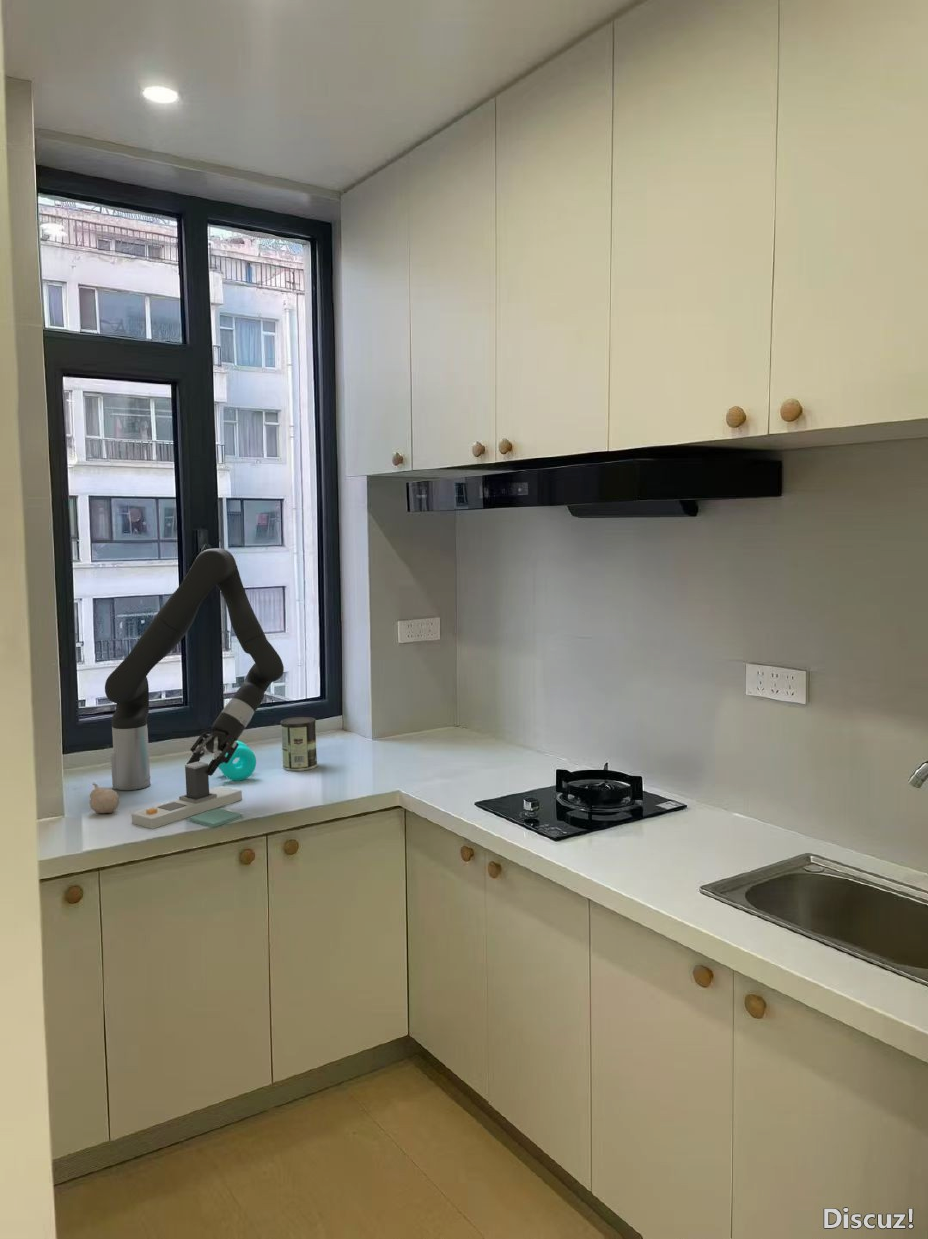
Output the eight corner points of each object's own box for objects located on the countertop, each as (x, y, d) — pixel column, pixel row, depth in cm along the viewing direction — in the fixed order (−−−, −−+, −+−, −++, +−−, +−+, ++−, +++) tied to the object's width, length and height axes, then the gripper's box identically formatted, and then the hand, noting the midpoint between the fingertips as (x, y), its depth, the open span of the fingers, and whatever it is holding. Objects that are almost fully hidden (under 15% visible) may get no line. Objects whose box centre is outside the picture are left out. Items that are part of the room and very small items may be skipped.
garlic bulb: (110, 807, 243) (109, 777, 242) (124, 812, 239) (122, 781, 238) (86, 814, 238) (84, 783, 237) (100, 818, 234) (98, 787, 233)
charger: (196, 801, 238) (195, 767, 238) (186, 799, 241) (184, 764, 240) (209, 797, 242) (208, 763, 241) (199, 795, 244) (197, 761, 243)
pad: (213, 827, 226) (213, 823, 226) (189, 820, 231) (189, 817, 231) (242, 817, 233) (242, 814, 233) (218, 811, 238) (218, 808, 238)
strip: (152, 828, 226) (151, 815, 225) (131, 823, 230) (131, 810, 230) (242, 799, 248) (241, 787, 248) (221, 794, 253) (221, 783, 252)
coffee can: (308, 760, 288) (306, 715, 286) (323, 767, 279) (321, 720, 278) (276, 765, 282) (274, 719, 280) (290, 773, 273) (289, 725, 272)
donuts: (222, 784, 263) (220, 749, 262) (216, 775, 272) (214, 741, 271) (257, 779, 267) (256, 745, 266) (250, 771, 276) (249, 737, 275)
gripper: (208, 708, 251) (172, 759, 243) (240, 714, 241) (204, 767, 234) (226, 724, 255) (191, 774, 248) (258, 731, 246) (223, 783, 238)
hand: (198, 771), depth 241 cm, fingers open, 8 cm apart
